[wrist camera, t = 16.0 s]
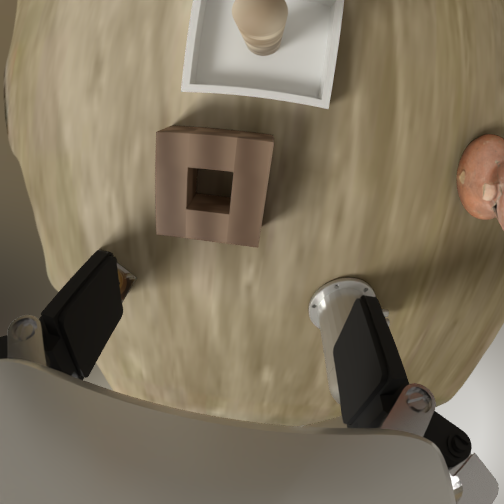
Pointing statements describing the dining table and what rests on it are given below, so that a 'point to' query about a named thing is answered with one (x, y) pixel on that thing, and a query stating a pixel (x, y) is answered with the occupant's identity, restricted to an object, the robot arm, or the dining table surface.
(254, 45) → the dowel
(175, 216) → the socket block
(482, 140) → the ceramic jug
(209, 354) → the dining table surface
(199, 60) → the tray
